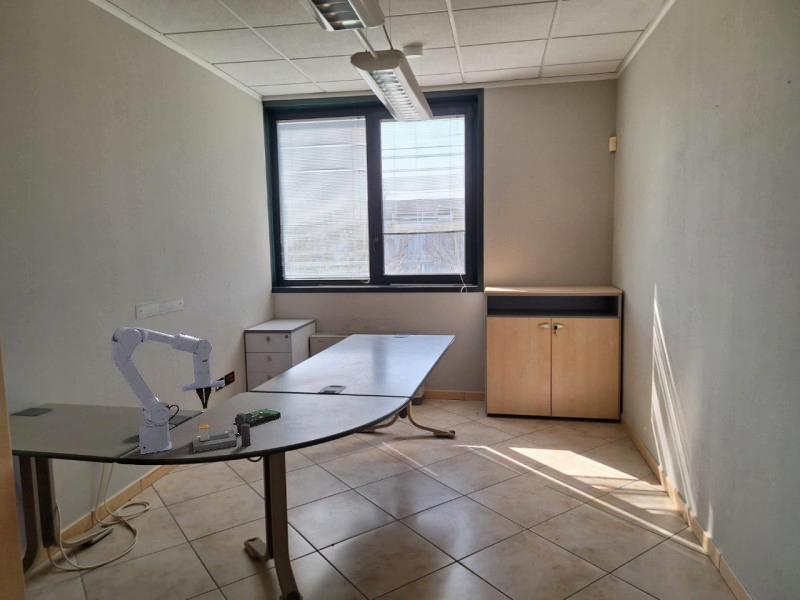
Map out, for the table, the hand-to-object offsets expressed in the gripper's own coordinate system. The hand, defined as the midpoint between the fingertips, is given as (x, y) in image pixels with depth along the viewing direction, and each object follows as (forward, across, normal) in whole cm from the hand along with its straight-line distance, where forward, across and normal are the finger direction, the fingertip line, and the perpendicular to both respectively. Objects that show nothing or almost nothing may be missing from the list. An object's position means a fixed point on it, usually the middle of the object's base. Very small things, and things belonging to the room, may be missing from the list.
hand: (204, 408), depth 196 cm
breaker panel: (+10, +2, -10) cm, 15 cm away
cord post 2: (+10, +12, -17) cm, 23 cm away
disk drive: (+11, +20, +10) cm, 25 cm away
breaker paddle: (+8, -1, -10) cm, 13 cm away
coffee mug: (+11, -15, +15) cm, 24 cm away
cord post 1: (+10, +12, -3) cm, 16 cm away
